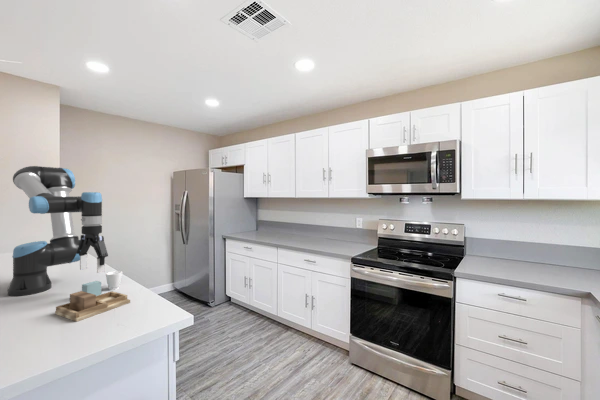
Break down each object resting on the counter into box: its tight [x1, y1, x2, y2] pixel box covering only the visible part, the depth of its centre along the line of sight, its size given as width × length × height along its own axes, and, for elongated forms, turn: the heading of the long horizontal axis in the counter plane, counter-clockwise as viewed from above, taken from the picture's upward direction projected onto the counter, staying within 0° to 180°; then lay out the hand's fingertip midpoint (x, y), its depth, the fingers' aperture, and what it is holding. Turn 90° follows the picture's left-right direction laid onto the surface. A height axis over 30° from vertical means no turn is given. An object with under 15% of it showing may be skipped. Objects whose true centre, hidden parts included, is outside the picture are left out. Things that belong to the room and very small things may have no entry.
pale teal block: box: [81, 280, 102, 296], centre depth 125 cm, size 4×6×6 cm, turn 155°
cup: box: [105, 270, 123, 291], centre depth 136 cm, size 7×10×8 cm
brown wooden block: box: [69, 290, 96, 312], centre depth 107 cm, size 10×4×6 cm, turn 66°
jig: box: [54, 290, 131, 323], centre depth 111 cm, size 15×20×3 cm
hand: (92, 270), depth 124 cm, fingers open, 13 cm apart
